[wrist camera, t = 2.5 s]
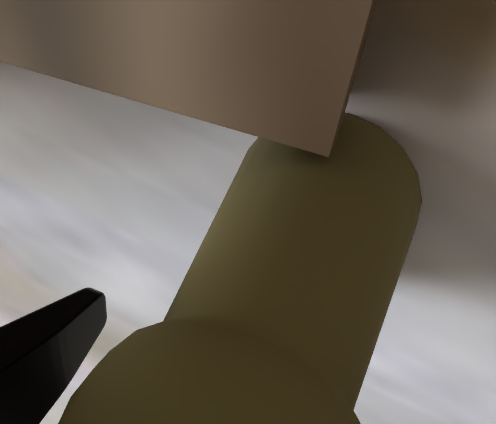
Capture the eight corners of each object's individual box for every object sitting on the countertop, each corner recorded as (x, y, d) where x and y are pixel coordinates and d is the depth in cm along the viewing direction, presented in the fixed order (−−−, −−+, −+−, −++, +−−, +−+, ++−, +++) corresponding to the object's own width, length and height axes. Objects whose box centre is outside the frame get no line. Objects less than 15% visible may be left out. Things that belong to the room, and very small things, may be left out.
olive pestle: (463, 221, 13) (510, 767, 5) (315, 292, 17) (187, 677, 8) (337, 67, 12) (93, 406, 4) (208, 178, 16) (-70, 482, 7)
